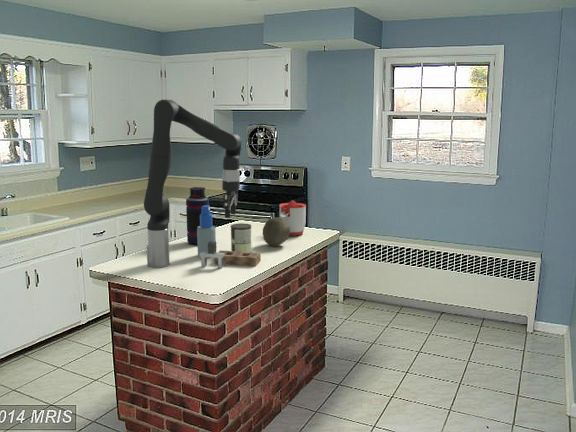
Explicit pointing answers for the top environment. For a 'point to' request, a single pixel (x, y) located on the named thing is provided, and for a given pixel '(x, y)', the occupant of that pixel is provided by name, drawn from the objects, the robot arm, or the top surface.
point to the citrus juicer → (294, 216)
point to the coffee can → (241, 237)
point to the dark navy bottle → (195, 211)
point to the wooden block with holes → (240, 258)
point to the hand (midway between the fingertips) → (230, 215)
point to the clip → (212, 255)
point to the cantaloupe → (276, 231)
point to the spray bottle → (205, 230)
